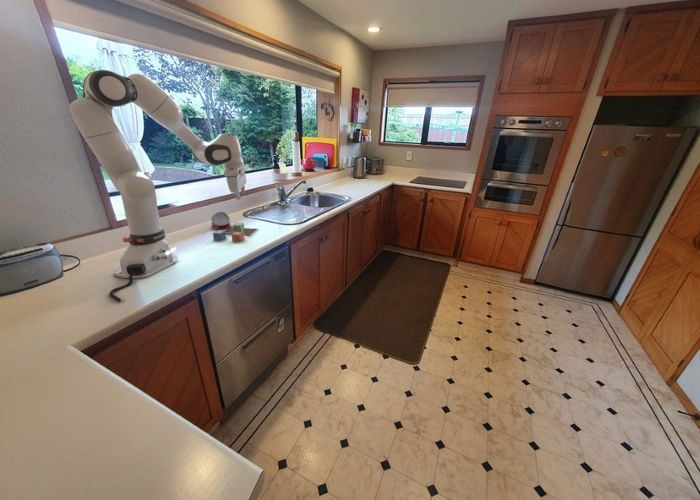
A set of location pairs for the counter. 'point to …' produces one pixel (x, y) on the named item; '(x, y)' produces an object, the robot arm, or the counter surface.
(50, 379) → the counter surface
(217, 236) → the letter T
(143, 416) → the counter surface
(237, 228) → the letter A
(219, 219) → the canned food
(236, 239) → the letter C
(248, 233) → the word board
